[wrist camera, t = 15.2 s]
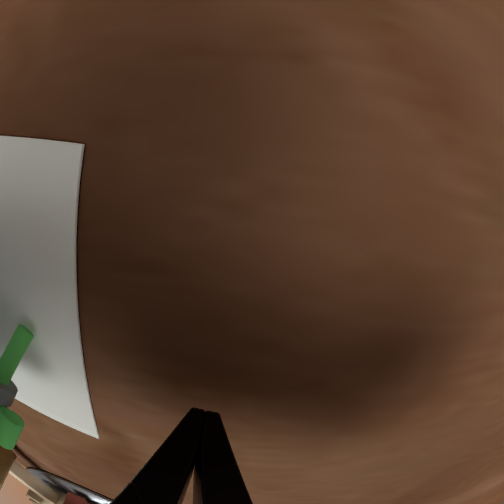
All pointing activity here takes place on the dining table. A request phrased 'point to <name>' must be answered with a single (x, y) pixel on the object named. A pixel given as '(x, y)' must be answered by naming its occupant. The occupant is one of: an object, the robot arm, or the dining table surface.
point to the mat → (43, 275)
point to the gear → (11, 386)
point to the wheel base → (68, 487)
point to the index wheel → (33, 482)
